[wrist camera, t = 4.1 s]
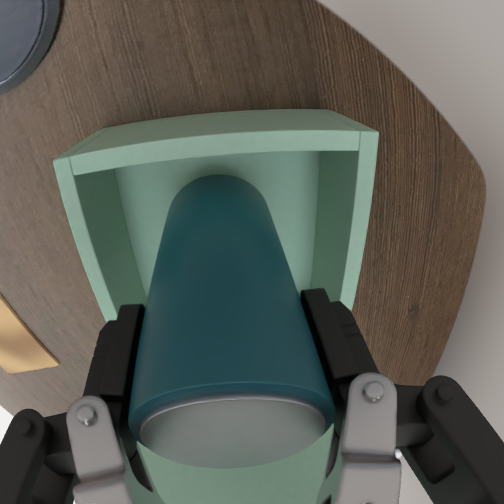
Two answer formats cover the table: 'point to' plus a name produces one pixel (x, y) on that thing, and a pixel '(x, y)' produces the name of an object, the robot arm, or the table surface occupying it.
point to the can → (225, 338)
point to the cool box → (228, 163)
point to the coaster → (20, 344)
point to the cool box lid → (242, 479)
